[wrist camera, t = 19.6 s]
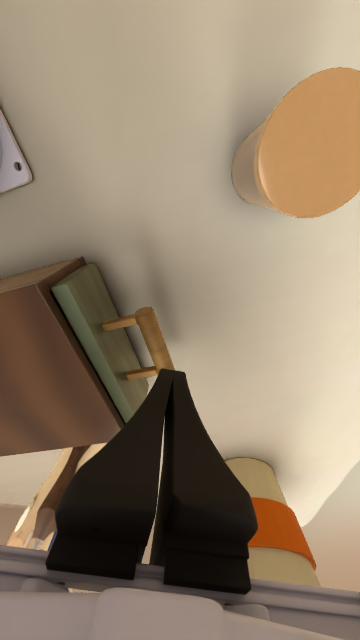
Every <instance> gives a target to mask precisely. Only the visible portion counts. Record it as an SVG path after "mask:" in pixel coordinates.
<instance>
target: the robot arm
mask: <svg viewBox="0 0 360 640" xmlns="http://www.w3.org/2000/svg"><path fill="white" fill-rule="evenodd" d="M18 163H20V164H21V166H22V170H21V171H20V170H19V168H18ZM31 181H32V174H31V171H30V169H29V167H28V165H27V163H26V161H25V159H24V157H23V155H22V153H21V150H20V148H19V146H18V144H17V142H16V140H15V138H14V136H13V134H12V132H11V130H10V128H9V125H8V123H7V121H6V119H5V117H4V115H3V113H2V111H1V109H0V193H2V192H5V191H8V190H11V189H14V188H16V187H19V186H22V185H25V184H28V183H30V182H31ZM164 416H165V423H164ZM163 426H164V449H163V464H162V472H161V480H160V488H159V496H158V485H159V471H160V458H161V447H162V436H163ZM157 498H158V504H157ZM156 507H157V511H156ZM155 515H156V519H155V526H154V534H153V541H152V548H151V556H150V563H149V564H142V563H141V562H142V558H143V554H144V551H145V547H146V546H147V543H148V539H149V536H150V532H151V529H152V525H153V522H154V518H155ZM55 522H56V528H57V534H56V537H55V539H54V542H53V544H52V547H51V549H50V551H43V550H35V549H28V548H20V547H13V546H5V545H0V640H360V592H354V591H346V590H338V589H331V588H324V587H316V586H309V585H301V584H293V583H286V582H278V581H271V580H263V579H255V578H250V576H249V569H248V562H247V560H248V559H249V550H248V543H249V541H250V540H251V539H252V538H253V536H254V535H255V534H256V532H257V530H258V523H257V517H256V513H255V510H254V506H253V503H252V500H251V497H250V494H249V492H248V491H247V490H246V489H245V488H244V486H243V485H242V484H241V483H240V481H239V480H238V479H237V477H236V476H235V475H234V474H233V472H232V471H231V469H230V468H229V467H228V465H227V464H226V463H225V461H224V459H223V458H222V456H221V455H220V453H219V452H218V450H217V449H216V447H215V446H214V444H213V442H212V440H211V439H210V437H209V435H208V433H207V431H206V429H205V428H204V426H203V424H202V421H201V419H200V417H199V415H198V412H197V410H196V408H195V405H194V402H193V400H192V397H191V394H190V391H189V387H188V384H187V379H186V374H185V373H184V372H181V371H175V370H169V369H164V368H162V369H160V371H159V374H158V377H157V379H156V381H155V383H154V385H153V387H152V389H151V390H150V392H149V394H148V395H147V397H146V398H145V400H144V401H143V403H142V404H141V406H140V407H139V408H138V410H137V411H136V412H135V414H134V415H133V416H132V417H131V419H130V420H129V421H128V422H127V423H126V424H125V425H124V427H123V428H122V429H121V430H120V431H119V432H118V433H117V434H116V435H115V436H114V437H113V438H112V439H111V440H110V441H109V442H108V443H107V444H106V445H105V446H104V447H103V448H102V449H101V450H100V451H98V452H97V453H96V454H95V455H94V456H93V457H91V458H90V459H89V460H88V461H87V462H85V463H84V464H83V465H82V466H81V467H80V468H79V469H78V471H77V472H76V473H75V475H74V476H73V478H72V479H71V481H70V482H69V484H68V486H67V487H66V489H65V491H64V493H63V495H62V497H61V499H60V501H59V504H58V506H57V509H56V511H55ZM68 588H72V589H80V590H88V591H96V592H102V593H70V592H69V590H68ZM222 607H224V608H222Z"/></svg>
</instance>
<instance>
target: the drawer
mask: <svg viewBox="0 0 360 640" xmlns="http://www.w3.org/2000/svg"><path fill="white" fill-rule="evenodd" d="M50 289H51V291H50V293H51V295H52V297H53V299H54V300H55V302H56V304H57V306H58V307H59V309H60V311H61V313H62V315H63V316H64V318H65V320H66V322H67V323H68V325H69V327H70V329H71V331H72V332H73V334H74V336H75V338H76V339H77V341H78V343H79V345H80V347H81V348H82V350H83V352H84V354H85V355H86V357H87V359H88V361H89V362H90V364H91V366H92V368H93V370H94V371H95V373H96V375H97V377H98V378H99V380H100V382H101V384H102V386H103V387H104V389H105V391H106V393H107V394H108V396H109V398H110V400H111V402H112V403H113V405H114V407H115V409H116V407H117V409H118V411H119V412H120V414H121V416H122V418H123V420H124V421H125V423H127V422H128V421H129V420H130V419H131V417H132V416H133V415H134V414H135V412H136V411H137V410H138V408H139V407H140V406H141V404H142V403H143V401H144V400H145V398H146V395H147V391H148V387H149V385H148V382H147V380H146V378H145V377H150V376H155V375H158V374H159V371H160V369H162V368H164V369H169V370H175V369H174V366H173V363H172V361H171V358H170V355H169V352H168V349H167V347H166V344H165V341H164V338H163V335H162V332H161V330H160V327H159V324H158V321H157V318H156V316H155V313H154V310H153V308H152V307H145V308H142V309H140V310H138V311H137V312H136V313H135V315H131V316H126V317H122V318H119V316H118V314H117V312H116V310H115V307H114V305H113V303H112V301H111V298H110V296H109V294H108V291H107V289H106V287H105V285H104V282H103V280H102V278H101V276H100V273H99V271H98V269H97V266H96V264H95V263H91V264H88V265H84V266H81V267H80V268H78V269H77V270H75V271H74V272H72V273H71V274H69V275H68V276H66V277H65V278H64V279H62V280H61V281H59V282H58V283H56V284H55V285H53V286H52V287H50ZM136 324H138V325H139V327H140V330H141V332H142V335H143V337H144V340H145V342H146V345H147V347H148V350H149V352H150V355H151V357H152V360H153V362H154V365H155V366H152V367H146V368H141V367H140V364H139V362H138V360H137V357H136V355H135V353H134V351H133V348H132V346H131V344H130V341H129V339H128V337H127V335H126V332H125V330H124V328H123V327H127V326H132V325H136Z"/></svg>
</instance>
